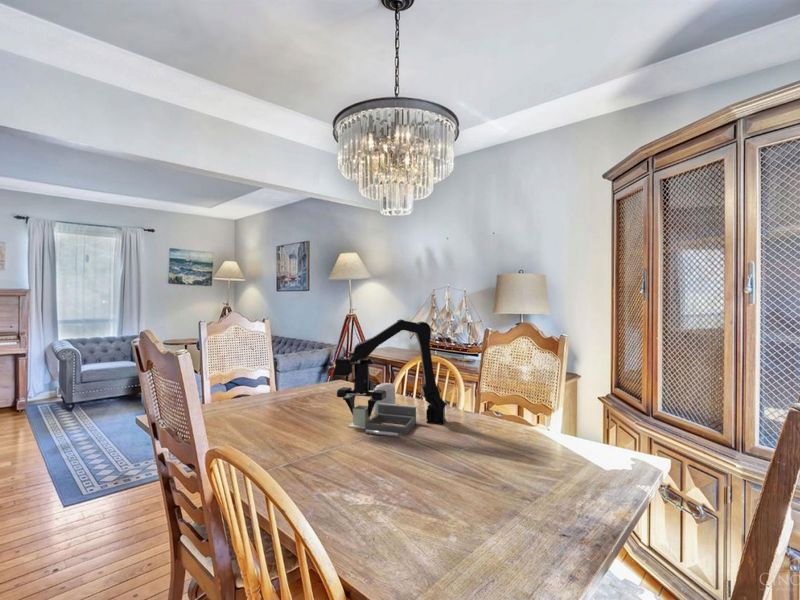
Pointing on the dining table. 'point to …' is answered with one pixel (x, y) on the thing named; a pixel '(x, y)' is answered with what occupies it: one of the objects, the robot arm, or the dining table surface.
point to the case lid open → (397, 409)
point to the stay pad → (356, 426)
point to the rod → (382, 433)
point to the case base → (389, 428)
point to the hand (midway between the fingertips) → (361, 415)
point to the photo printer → (389, 395)
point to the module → (360, 415)
